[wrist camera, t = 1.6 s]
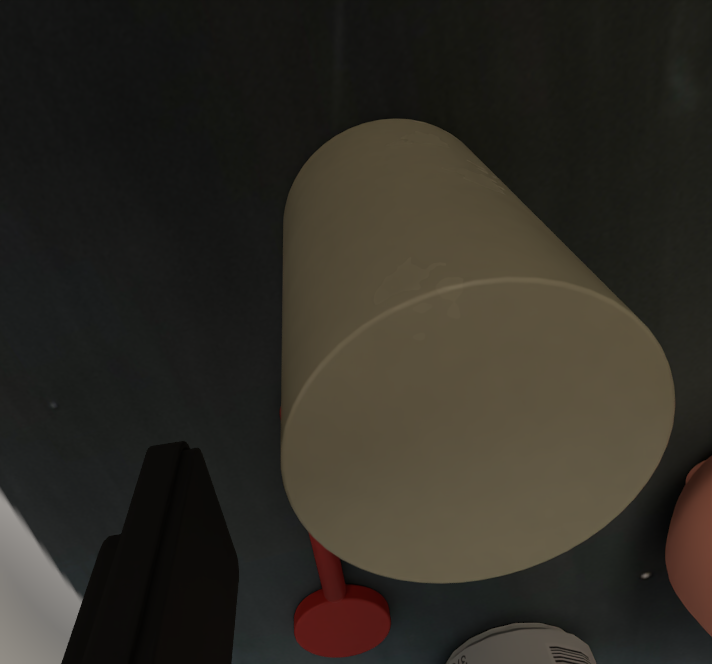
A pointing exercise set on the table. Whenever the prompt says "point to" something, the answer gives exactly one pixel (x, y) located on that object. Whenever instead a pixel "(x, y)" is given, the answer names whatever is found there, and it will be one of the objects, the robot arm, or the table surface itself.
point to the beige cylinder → (452, 367)
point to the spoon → (339, 612)
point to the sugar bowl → (693, 545)
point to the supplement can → (523, 646)
